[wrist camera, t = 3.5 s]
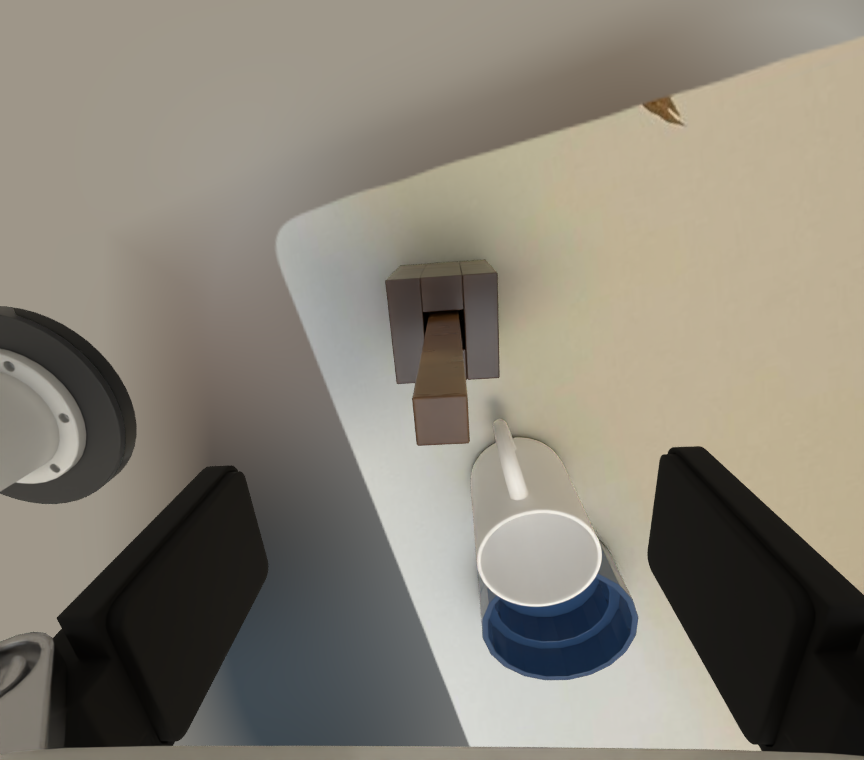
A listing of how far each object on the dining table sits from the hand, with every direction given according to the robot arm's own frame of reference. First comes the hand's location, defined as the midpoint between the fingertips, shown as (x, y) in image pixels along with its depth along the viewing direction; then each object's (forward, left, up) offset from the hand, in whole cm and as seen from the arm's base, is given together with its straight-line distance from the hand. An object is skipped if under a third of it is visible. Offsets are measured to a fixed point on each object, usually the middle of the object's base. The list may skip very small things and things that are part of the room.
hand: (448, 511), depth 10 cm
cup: (+5, -14, -25) cm, 29 cm away
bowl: (+8, -27, -25) cm, 37 cm away
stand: (0, 0, -25) cm, 25 cm away
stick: (0, 0, -25) cm, 25 cm away
